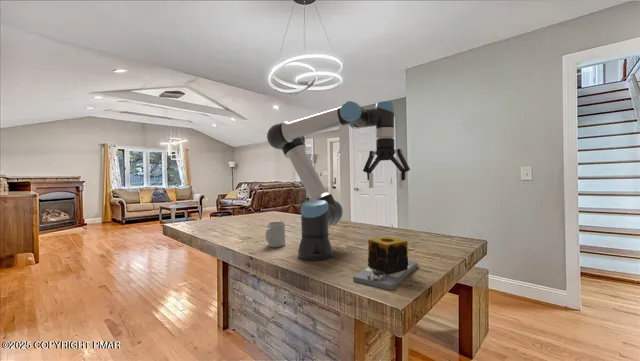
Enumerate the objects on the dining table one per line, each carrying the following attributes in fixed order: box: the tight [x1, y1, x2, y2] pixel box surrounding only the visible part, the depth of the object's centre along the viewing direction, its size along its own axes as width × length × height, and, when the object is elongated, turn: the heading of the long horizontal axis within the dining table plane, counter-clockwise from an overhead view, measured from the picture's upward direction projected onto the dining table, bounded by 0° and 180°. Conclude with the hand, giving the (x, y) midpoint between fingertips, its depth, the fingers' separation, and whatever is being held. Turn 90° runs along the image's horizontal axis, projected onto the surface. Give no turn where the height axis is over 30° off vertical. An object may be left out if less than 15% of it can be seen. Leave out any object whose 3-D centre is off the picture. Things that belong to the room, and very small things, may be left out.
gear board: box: [352, 260, 418, 291], centre depth 96 cm, size 13×26×4 cm, turn 144°
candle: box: [367, 235, 409, 275], centre depth 96 cm, size 10×10×10 cm
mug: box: [265, 221, 286, 248], centre depth 136 cm, size 12×8×11 cm
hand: (385, 188), depth 118 cm, fingers open, 13 cm apart
